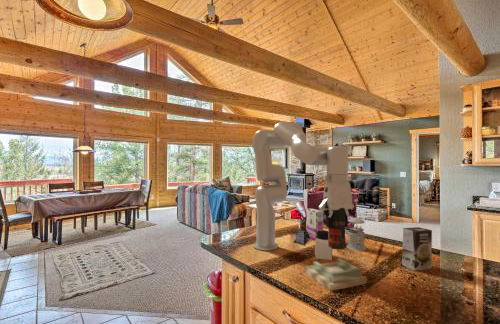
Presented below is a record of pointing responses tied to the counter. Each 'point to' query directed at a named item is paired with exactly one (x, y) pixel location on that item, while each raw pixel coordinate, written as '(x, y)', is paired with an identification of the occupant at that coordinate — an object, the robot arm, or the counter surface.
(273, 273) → the counter surface
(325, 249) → the medicine bottle
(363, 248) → the french press
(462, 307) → the counter surface
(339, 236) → the deodorant
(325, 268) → the dock
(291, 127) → the robot arm
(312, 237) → the candy bar box
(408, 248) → the coffee box
